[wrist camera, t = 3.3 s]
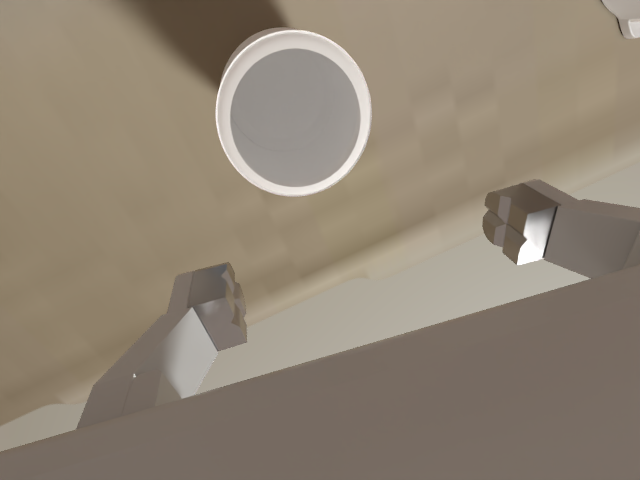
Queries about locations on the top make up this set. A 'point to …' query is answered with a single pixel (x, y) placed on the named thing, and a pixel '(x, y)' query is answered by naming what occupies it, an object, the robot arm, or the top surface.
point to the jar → (292, 111)
